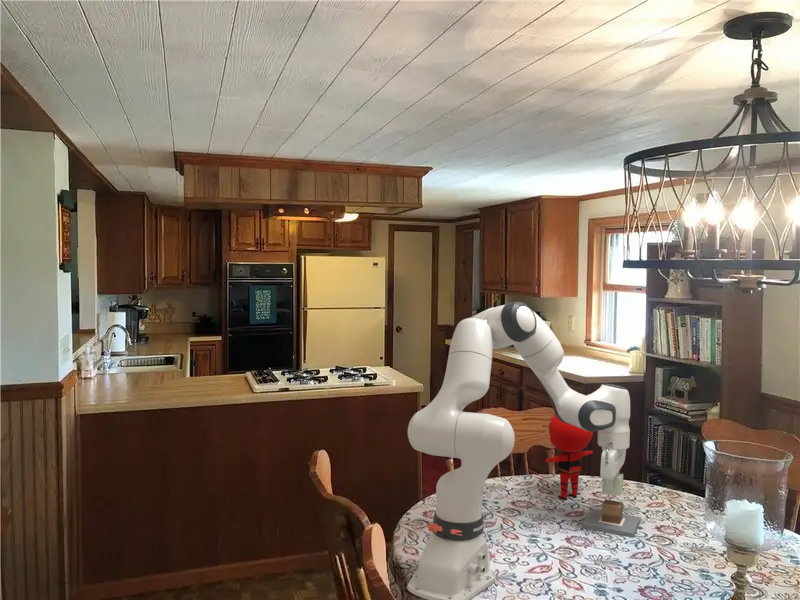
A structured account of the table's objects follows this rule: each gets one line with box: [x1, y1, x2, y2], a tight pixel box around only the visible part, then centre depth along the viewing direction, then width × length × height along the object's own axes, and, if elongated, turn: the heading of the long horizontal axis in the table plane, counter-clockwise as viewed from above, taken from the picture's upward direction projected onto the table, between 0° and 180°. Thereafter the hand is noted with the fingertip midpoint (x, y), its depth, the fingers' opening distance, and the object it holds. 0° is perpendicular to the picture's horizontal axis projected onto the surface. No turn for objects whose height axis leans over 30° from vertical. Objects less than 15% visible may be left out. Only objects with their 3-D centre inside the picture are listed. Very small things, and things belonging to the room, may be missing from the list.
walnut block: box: [601, 498, 624, 525], centre depth 182 cm, size 5×5×5 cm
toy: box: [545, 413, 594, 501], centre depth 204 cm, size 22×14×30 cm, turn 123°
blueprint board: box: [581, 508, 642, 539], centre depth 182 cm, size 14×14×1 cm
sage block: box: [601, 472, 624, 497], centre depth 182 cm, size 5×5×5 cm
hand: (612, 486), depth 182 cm, fingers closed on sage block, 5 cm apart
